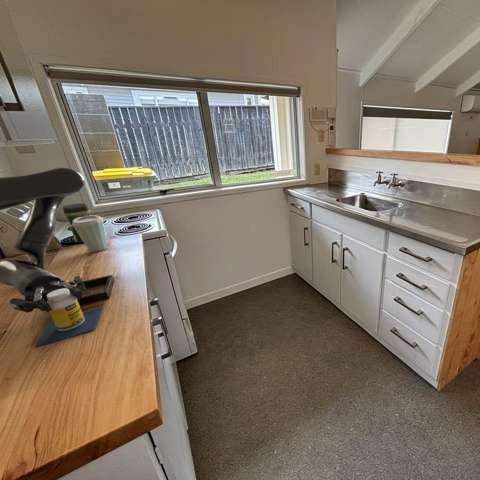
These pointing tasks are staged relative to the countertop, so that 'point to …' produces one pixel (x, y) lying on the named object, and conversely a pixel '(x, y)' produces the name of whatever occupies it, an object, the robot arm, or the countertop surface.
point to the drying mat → (55, 335)
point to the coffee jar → (76, 216)
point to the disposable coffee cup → (91, 232)
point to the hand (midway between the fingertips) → (64, 301)
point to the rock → (54, 243)
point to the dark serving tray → (101, 295)
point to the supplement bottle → (65, 309)
